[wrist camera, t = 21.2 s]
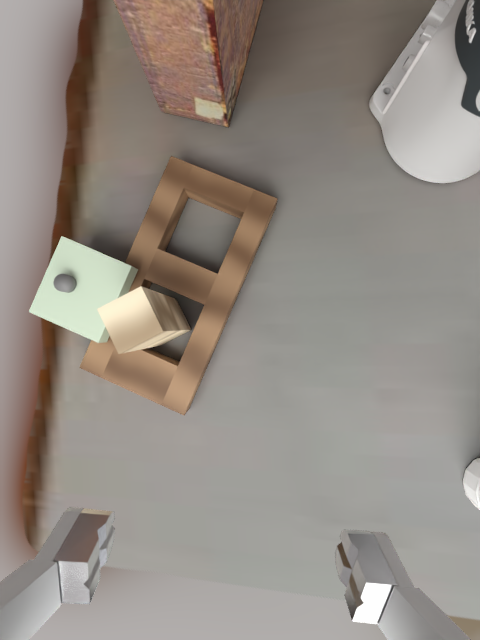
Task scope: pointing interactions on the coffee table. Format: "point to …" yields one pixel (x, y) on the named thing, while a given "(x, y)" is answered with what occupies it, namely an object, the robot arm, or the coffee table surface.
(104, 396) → the coffee table surface
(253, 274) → the coffee table surface
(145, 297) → the maple block
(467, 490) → the white cup
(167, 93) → the book
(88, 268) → the lid
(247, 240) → the puzzle board
